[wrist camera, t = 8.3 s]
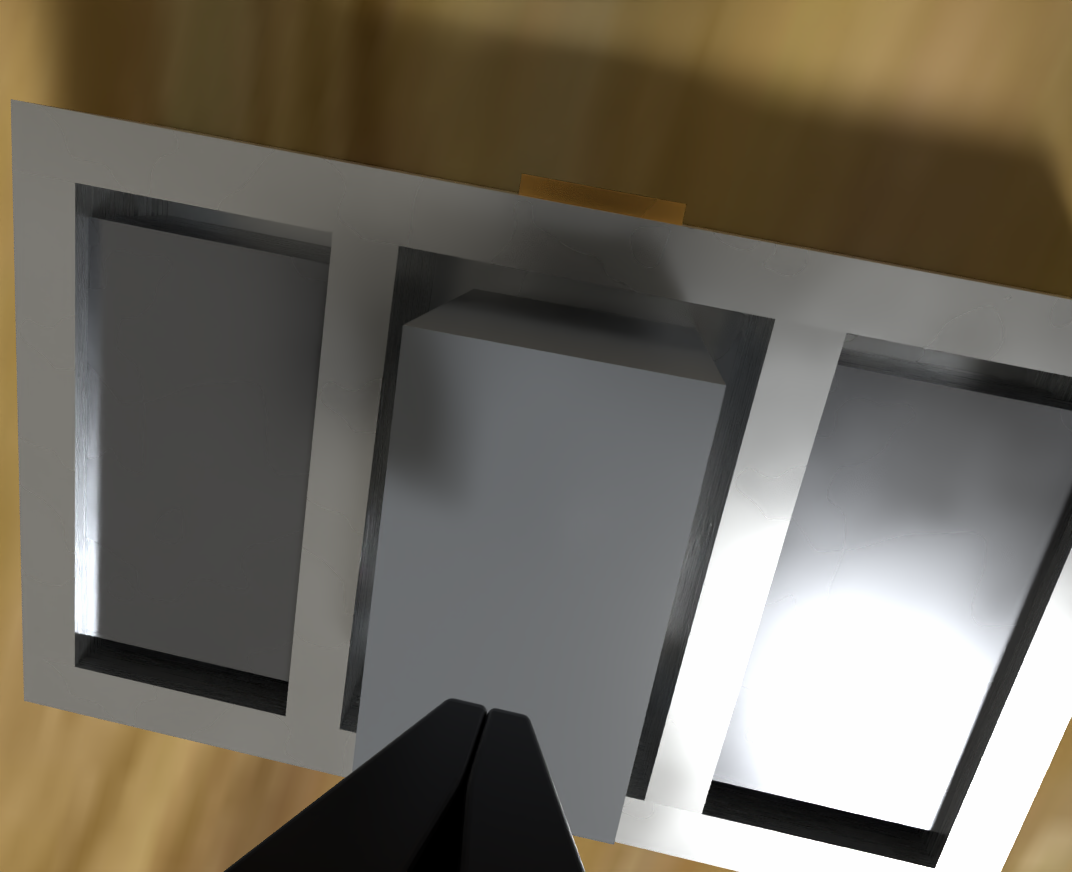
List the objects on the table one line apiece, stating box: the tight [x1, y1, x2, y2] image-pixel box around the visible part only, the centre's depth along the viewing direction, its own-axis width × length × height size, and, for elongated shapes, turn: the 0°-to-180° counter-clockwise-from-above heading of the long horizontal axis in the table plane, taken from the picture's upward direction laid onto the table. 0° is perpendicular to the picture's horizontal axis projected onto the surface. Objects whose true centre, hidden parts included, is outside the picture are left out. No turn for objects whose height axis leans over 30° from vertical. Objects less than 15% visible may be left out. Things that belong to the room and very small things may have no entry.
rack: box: [11, 99, 1072, 872], centre depth 14 cm, size 18×11×4 cm, turn 79°
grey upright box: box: [352, 289, 726, 844], centre depth 13 cm, size 4×7×4 cm, turn 170°
